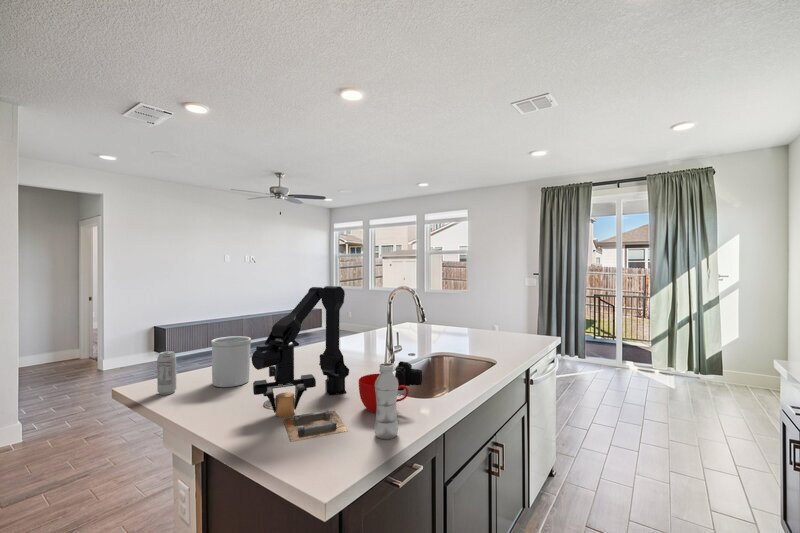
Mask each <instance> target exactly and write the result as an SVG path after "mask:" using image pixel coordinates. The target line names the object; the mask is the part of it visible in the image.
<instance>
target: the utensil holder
mask: <svg viewBox="0 0 800 533" xmlns="http://www.w3.org/2000/svg"><path fill="white" fill-rule="evenodd" d="M251 342H252V338H251V337H249V336H243V335H242V336H239V335H238V336H237V335H234V336H225V337H224V336H223V337H217V338H214V339H212V340H211V341H210V343H211V377H212V379H211V380H212V382H211V383H212V385H213V386H214V387H216V388H217V387H218V388H231V387H232V388H233V387H239V386H241V385H244V384H246V383H248V382H249V381H250V370H251V369H250V368H251Z"/></svg>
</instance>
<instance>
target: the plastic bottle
mask: <svg viewBox="0 0 800 533" xmlns="http://www.w3.org/2000/svg"><path fill="white" fill-rule="evenodd" d="M394 370H395V369H394V364H393V363H390V362H386V363H385V362H384V363H380V364H379V370H378V371H379V372H378V373H379V374H380V375H379V376H378V377H377V379H376V381H375V392H376V403H377V411H376V413H375V414H376V415H375V422H374V425H373V430H374V434H375V436H376V437H377V438H378V439H380V438H381V439H380V440H391V439H390V438H392V439H394V438H395V437H397V435H398V433H399V420H398V417H397V416H398V415H397V402H396V401H397V399H398V398H397V397H398V380H397V379H396V377H395V373H394ZM393 437H394V438H393Z"/></svg>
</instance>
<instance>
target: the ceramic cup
mask: <svg viewBox="0 0 800 533" xmlns="http://www.w3.org/2000/svg"><path fill="white" fill-rule="evenodd" d="M379 375H380V373H371V374H366V375H363V376H361V377H360V378H359V379H358V391H359V397H360V400H361V402H362V405H363V406H364V407H365V408H366V409H367V410H368V412H371V413H374V414H376V411H377V403H376V392H375V381H376V379H377V377H378V376H379ZM394 376H395V375H394ZM395 377H396V376H395ZM396 379H397V380H398V378H397V377H396ZM399 388H404V390H405V395H404V396H402V397H401V398H397V401H396V403H398V402H402V401H404V400H405V399H406V398H407V397H408V395H409V393H410V392H409V387H408V386H405V385H400V386H398V389H399Z"/></svg>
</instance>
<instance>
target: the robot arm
mask: <svg viewBox="0 0 800 533" xmlns="http://www.w3.org/2000/svg"><path fill="white" fill-rule="evenodd" d="M345 292H346V291H345V290H344V288H342V286H338V285H337V286H335V285H325V286H324V287H321V286H311V287H309V289H308V292H307V293H306V294H305V295H304V296H303V298H302V299H301V300H300V301H299V303H297V305H296V306H295V307H294V309H292V310H291V312H290V313H289V314H288V315H285V316H283V317H282V318H280V319H279V320H277V321H276V323H274V324H273V326H272V327H271V331H270V333H269V335H268V337H267V338H266V340H265V342H264V345H257V346H256V350H255V351H254V352H253V354H252V356H251V363H252V366H253V368H254V369H255V370H258V371H259V370H264V369H266V368H268V376H269V377H270V378H271V377H274V379H273V380H274V381H270V382H267V379H263V380H262V379H261V380H254V382H253V383H252V390H253V395H255V396H259V395H262V396H263V397H267V399H268V400H269V402H270V404H271V407H272V408H271V409H272V411H273V413H274V414H276V399H275V393H274V389H278V388H279V389H280V388H286V387H294V391H295V392H294V411H295V410H297V408H298V405H299V403H300V400H301V397H302V395H304V393H305V392H306V391H307V390H308V389H309V388H315V387H316V386H317V381H316V378H315V376H314V375H313V374H309V373H308V374H302V375H300V378H296V379H295V347H299V345H300V343H299V342H297V341H296V339H297V337H298V335H299V333H300V332H301V329H302V323H303V321H305V319H306V318H307V317H308V316H309V314H311V313H312V312H311V311H313V309H314V308H315V307H316V305H317V304H318V303H319V302H320V301H321V303H322V305H323V308H324V310H325V349H324V351H323V353H320V355H319V363H318V365H319V366H320V370H321V371H322V375H323V376H326V379H325V380H324V381H325V382H324V384H325V387H324V388H325V391H326V393H327V394H328V395H329V396H336V395H342V394H347V390H346V378H347V377H348V376H349V375H350V369H349V367H347V365H346V364H345V361H344V360H345V359H344V355H343V353H342V351H341V349H340V310H341V308H342V307H343V304H344V303H345V295H346V294H345ZM269 377H268V378H269Z"/></svg>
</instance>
